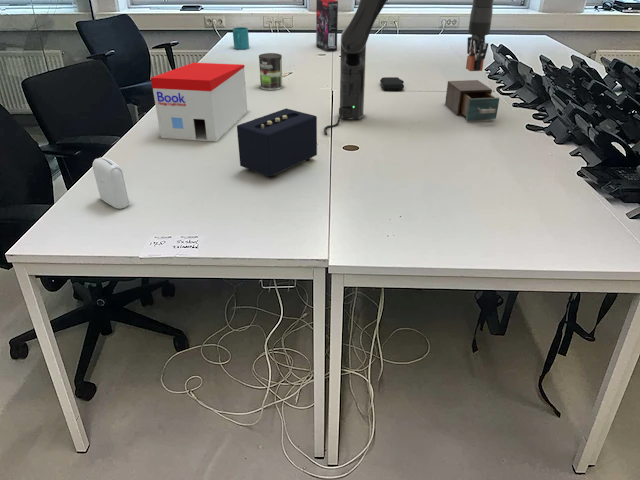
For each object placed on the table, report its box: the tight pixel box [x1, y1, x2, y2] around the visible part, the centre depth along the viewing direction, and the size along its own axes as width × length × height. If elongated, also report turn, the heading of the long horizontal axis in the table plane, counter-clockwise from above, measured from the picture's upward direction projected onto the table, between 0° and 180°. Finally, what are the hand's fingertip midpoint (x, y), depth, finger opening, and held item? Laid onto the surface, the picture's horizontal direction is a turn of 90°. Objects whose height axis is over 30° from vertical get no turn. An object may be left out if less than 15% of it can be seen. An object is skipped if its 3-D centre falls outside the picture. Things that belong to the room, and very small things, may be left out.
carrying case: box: [379, 76, 405, 91], centre depth 242 cm, size 11×3×15 cm
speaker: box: [236, 108, 318, 178], centre depth 161 cm, size 22×13×15 cm, turn 141°
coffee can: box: [258, 52, 284, 91], centre depth 239 cm, size 10×10×14 cm
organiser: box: [444, 79, 493, 116], centre depth 211 cm, size 15×13×10 cm
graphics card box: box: [315, 0, 339, 52], centre depth 310 cm, size 17×7×27 cm, turn 25°
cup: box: [232, 26, 250, 51], centre depth 315 cm, size 9×12×11 cm
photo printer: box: [92, 157, 130, 210], centre depth 140 cm, size 10×4×12 cm, turn 47°
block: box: [465, 55, 485, 72], centre depth 197 cm, size 5×5×5 cm
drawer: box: [460, 92, 500, 121], centre depth 201 cm, size 18×11×8 cm, turn 7°
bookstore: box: [150, 62, 248, 143], centre depth 193 cm, size 21×35×21 cm, turn 169°
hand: (474, 68), depth 198 cm, fingers closed on block, 4 cm apart
